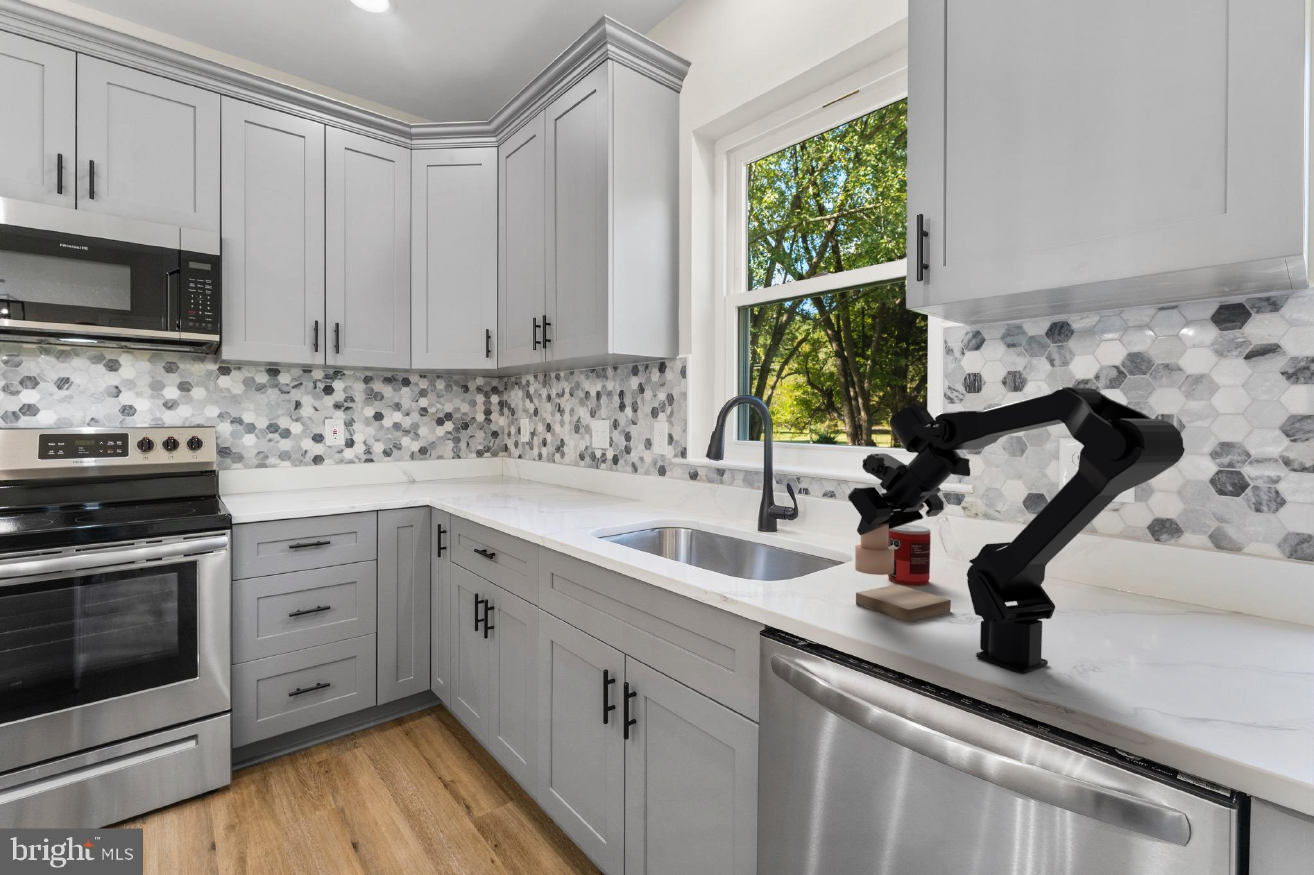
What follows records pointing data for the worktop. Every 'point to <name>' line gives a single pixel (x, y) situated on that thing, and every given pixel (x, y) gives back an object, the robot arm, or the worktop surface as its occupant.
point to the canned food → (910, 554)
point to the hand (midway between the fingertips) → (868, 531)
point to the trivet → (903, 602)
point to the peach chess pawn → (875, 553)
